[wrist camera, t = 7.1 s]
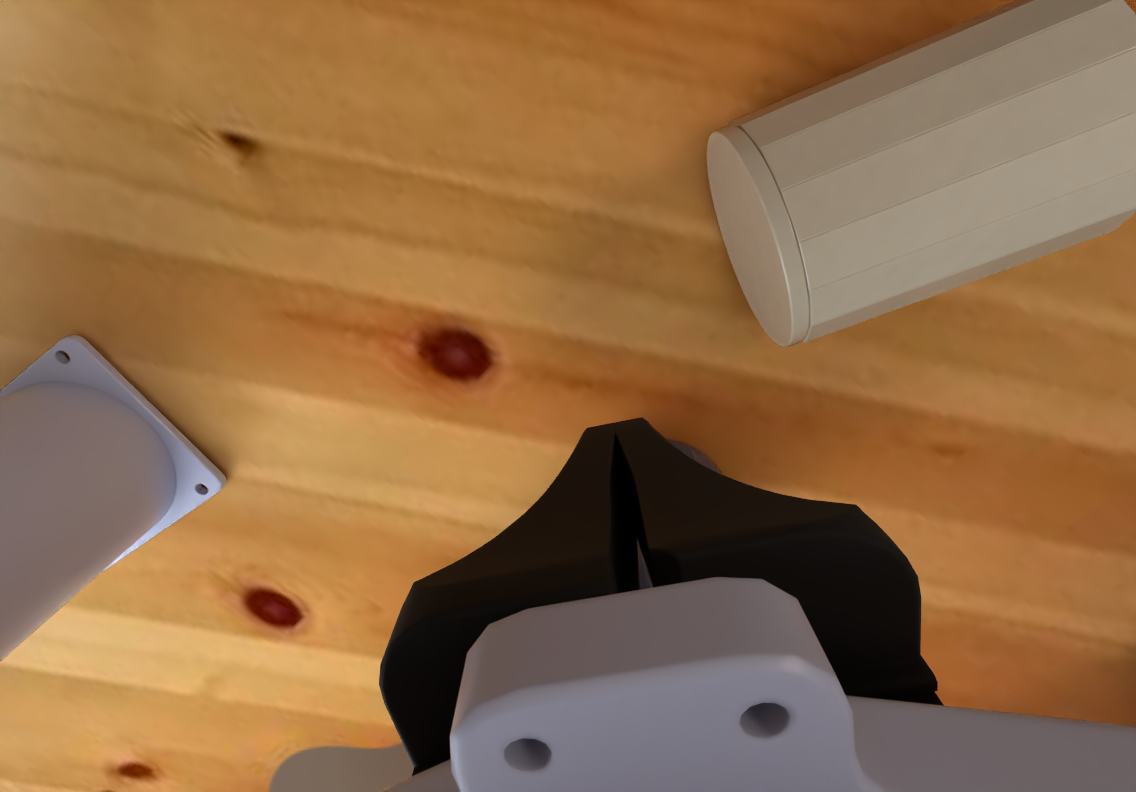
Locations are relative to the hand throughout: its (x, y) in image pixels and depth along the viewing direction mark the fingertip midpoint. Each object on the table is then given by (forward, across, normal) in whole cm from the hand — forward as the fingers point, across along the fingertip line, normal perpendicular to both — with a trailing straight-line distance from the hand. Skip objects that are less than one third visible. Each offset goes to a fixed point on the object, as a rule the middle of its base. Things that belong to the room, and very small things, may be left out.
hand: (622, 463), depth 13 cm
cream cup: (+7, -5, -3) cm, 9 cm away
